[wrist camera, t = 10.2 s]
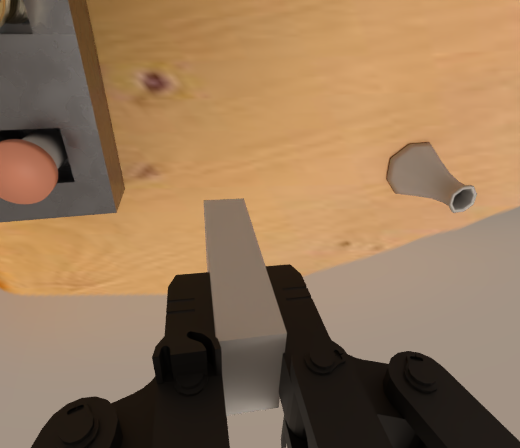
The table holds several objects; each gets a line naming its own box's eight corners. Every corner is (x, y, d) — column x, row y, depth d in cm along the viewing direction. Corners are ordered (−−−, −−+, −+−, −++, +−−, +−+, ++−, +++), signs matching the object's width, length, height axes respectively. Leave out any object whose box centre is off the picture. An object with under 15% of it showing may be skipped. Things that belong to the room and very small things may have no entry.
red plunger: (11, 120, 31) (-33, 145, 25) (70, 118, 32) (42, 141, 25) (29, 172, 34) (-7, 206, 27) (83, 169, 34) (61, 201, 28)
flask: (389, 200, 47) (434, 237, 39) (382, 154, 44) (431, 184, 35) (436, 180, 47) (493, 213, 39) (434, 132, 44) (495, 157, 35)
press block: (-95, -100, 25) (-165, -133, 20) (67, -90, 27) (41, -117, 22) (18, 196, 37) (-8, 222, 32) (124, 188, 39) (116, 212, 34)
